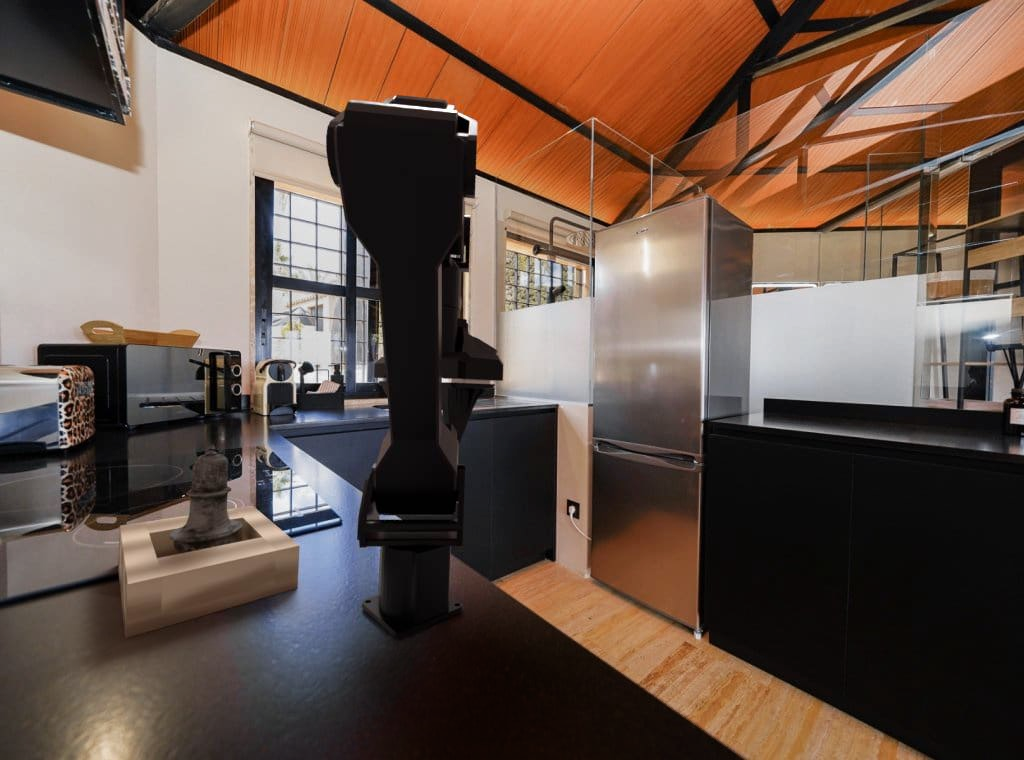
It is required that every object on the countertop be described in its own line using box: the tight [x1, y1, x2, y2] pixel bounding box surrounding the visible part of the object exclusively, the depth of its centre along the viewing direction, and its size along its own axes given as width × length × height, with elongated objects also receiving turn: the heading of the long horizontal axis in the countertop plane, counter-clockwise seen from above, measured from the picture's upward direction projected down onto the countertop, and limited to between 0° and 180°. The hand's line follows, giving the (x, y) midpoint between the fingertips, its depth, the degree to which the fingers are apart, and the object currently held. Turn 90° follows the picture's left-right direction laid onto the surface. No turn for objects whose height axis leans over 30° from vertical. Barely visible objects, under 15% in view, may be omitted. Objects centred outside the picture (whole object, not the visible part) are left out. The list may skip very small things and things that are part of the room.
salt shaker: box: [169, 444, 243, 554], centre depth 41 cm, size 6×6×12 cm
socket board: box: [117, 505, 300, 639], centre depth 41 cm, size 17×12×4 cm
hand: (430, 441), depth 49 cm, fingers open, 9 cm apart
